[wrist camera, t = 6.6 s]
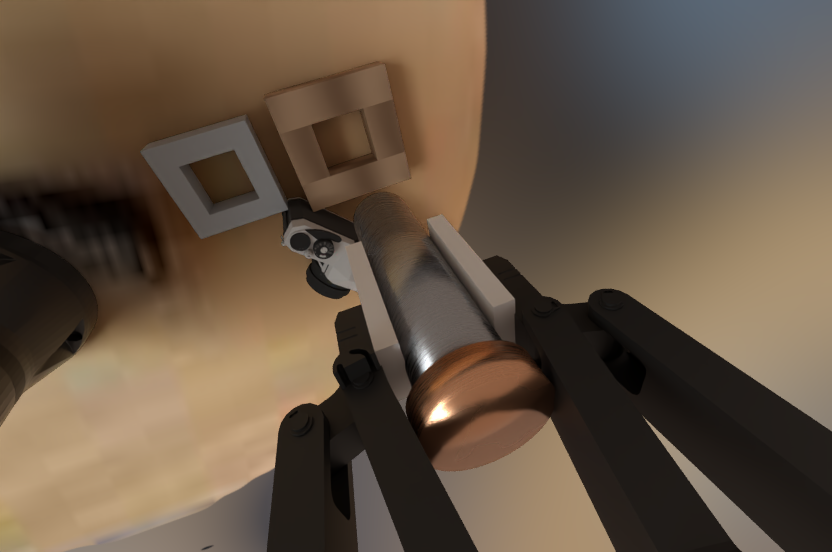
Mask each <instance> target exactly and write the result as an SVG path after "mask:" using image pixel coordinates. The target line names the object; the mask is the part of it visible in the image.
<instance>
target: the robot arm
mask: <svg viewBox="0 0 832 552" xmlns="http://www.w3.org/2000/svg"><path fill="white" fill-rule="evenodd" d="M427 224H428V229H429V233H430V238H431V240H432V241H433V243H434V244H435V246H436V247H437V248H438V250H439V251H440V253H441V254H442V255H443V257H444V258H445V260H446V261H447V263H448V264H449V265H450V267H451V268H452V270H453V271H454V272H455V274H456V275H457V277H458V278H459V280H460V281H461V282H462V284H463V285H464V287H465V288H466V289H467V291H468V292H469V294H470V295H471V297H472V298H473V299H474V301H475V302H476V304H477V305H478V307H479V308H480V309H481V311H482V312H483V314H484V315H485V316H486V318H487V319H488V321H489V322H490V324H491V325H492V326H493V328H494V329H495V331H496V332H497V333H498V335H499V336H500V338H501V339H502V340H503V341H509V342H513V343H516V344H518V345H520V346H522V347H523V348H524V349H525V350H526V351H527V352H528V353H529V354H530V356H531V357H532V358H533V360H534V361H535V362H536V364H537V365H538V366H539V368H540V369H541V370H542V372H543V373H544V374H545V375H546V377H547V378H548V379H549V381H550V382H551V383H552V385H553V386H554V388H555V401H554V411H553V412H552V414H551V416H550V417H551V419H552V421H553V423H554V425H555V427H556V429H557V431H558V433H559V436H560V438H561V440H562V442H563V444H564V446H565V448H566V450H567V452H568V454H569V456H570V458H571V460H572V462H573V464H574V466H575V468H576V471H577V473H578V475H579V477H580V479H581V481H582V483H583V485H584V487H585V489H586V491H587V493H588V495H589V497H590V499H591V501H592V503H593V505H594V507H595V509H596V511H597V514H598V516H599V518H600V520H601V522H602V524H603V526H604V528H605V530H606V532H607V534H608V536H609V538H610V540H611V542H612V544H613V546H614V548H615V550H616V552H742V551H740V550H739V549H738V548H737V547H736V545H735V544H734V543H733V542H732V540H731V539H730V538H729V536H728V535H727V533H726V532H725V530H724V529H723V528H722V527H721V525H720V524H719V522H718V521H717V519H716V518H715V517H714V515H713V514H712V513H711V511H710V510H709V508H708V507H707V505H706V504H705V503H704V501H703V500H702V499H701V497H700V496H699V494H698V493H697V492H696V490H695V489H694V487H693V486H692V485H691V483H690V482H689V481H688V479H687V478H686V476H685V475H684V473H683V472H682V471H681V469H680V468H679V466H678V465H677V464H676V462H675V461H674V459H673V458H672V457H671V455H670V454H669V453H668V451H667V450H666V448H665V447H664V446H663V444H662V443H661V441H660V440H659V439H658V437H657V436H656V434H655V433H654V432H653V430H652V429H651V427H650V426H649V425H648V424H647V422H646V420H645V419H647V421H649V422H650V423H651V424H652V425H653V426H654V427H655V428H656V429H657V430H658V431H659V432H660V433H661V434H662V435H663V436H664V437H665V438H666V439H668V441H670V442H671V443H672V444H673V445H674V446H675V447H676V448H677V449H678V450H679V451H680V452H681V453H682V454H683V455H684V456H685V457H686V458H687V459H688V460H689V461H691V462H692V463H693V464H694V465H695V466H696V467H697V468H698V469H699V470H700V471H701V472H702V473H703V474H704V475H705V476H706V477H707V478H708V479H709V480H711V481H712V482H713V483H714V484H715V485H716V486H717V487H718V488H719V489H720V490H721V491H722V492H723V493H724V494H725V495H726V496H727V497H728V498H729V499H730V500H731V501H733V502H734V503H735V504H736V505H737V506H738V507H739V508H740V509H741V510H742V511H743V512H744V513H745V514H746V515H747V516H748V517H749V518H750V519H751V520H753V522H755V523H756V524H757V525H758V526H759V527H760V528H761V529H762V530H763V531H764V532H765V533H766V534H767V535H768V536H769V537H770V538H771V539H772V540H773V541H775V543H777V544H778V545H779V546H780V547H781V548H782V549H783V550H784V551H785V552H832V431H830V430H829V429H827V428H826V427H824V426H823V425H821V424H820V423H818V422H817V421H815V420H814V419H812V418H811V417H810V416H808V415H807V414H805V413H803V412H802V411H801V410H799V409H798V408H796V407H795V406H793V405H791V404H790V403H789V402H787V401H785V400H784V399H783V398H781V397H779V396H778V395H776V394H775V393H774V392H772V391H771V390H769V389H768V388H766V387H765V386H763V385H762V384H760V383H759V382H757V381H756V380H754V379H753V378H751V377H750V376H748V375H747V374H745V373H744V372H742V371H741V370H739V369H738V368H736V367H735V366H733V365H732V364H730V363H729V362H727V361H726V360H724V359H723V358H722V357H720V356H718V355H717V354H716V353H714V352H712V351H711V350H710V349H708V348H707V347H705V346H703V345H702V344H701V343H699V342H698V341H696V340H695V339H693V338H692V337H690V336H689V335H687V334H686V333H684V332H683V331H681V330H680V329H678V328H676V327H675V326H674V325H672V324H671V323H669V322H668V321H666V320H665V319H663V318H662V317H660V316H659V315H657V314H656V313H654V312H653V311H651V310H650V309H649V308H647V307H646V306H644V305H643V304H641V303H639V302H638V301H637V300H635V299H633V298H632V297H631V296H629V295H628V294H625V293H623V292H621V291H619V290H614V289H600V290H597V291H595V292H593V293H592V294H591V295H590V297H589V299H588V302H586V303H576V304H561V303H560V302H559V301H558V300H556V299H553V298H551V297H545V296H542V295H541V294H540V293H539V292H538V291H537V290H536V289H535V288H534V287H533V286H532V285H531V284H530V283H529V282H528V281H527V280H526V279H525V278H524V277H523V275H521V274H520V272H519V271H518V270H517V269H515V267H514V266H513V265H512V264H511V263H510V262H509V261H508V260H506V259H504V258H502V257H499V256H494V257H491V258H488V259H485V260H481V259H480V258H479V257H478V255H477V254H476V253H475V252H474V251H473V250H472V248H471V247H470V246H469V245H468V244H467V243H466V241H465V240H464V239H463V238H462V237H461V236H460V235H459V233H458V232H457V231H456V230H455V229H454V228H453V226H452V225H451V224H450V223H449V222H448V221H447V219H446V218H445V217H444V216H443V215H442V214H441V215H438V216H435V217H432V218H429V219H427ZM345 249H346V252H347V256H348V259H349V263H350V266H351V270H352V273H353V277H354V281H355V284H356V288H357V291H358V295H359V298H360V302H361V305H358V306H356V307H353V308H350V309H347V310H344V311H342V312H339V313H338V315H337V317H336V320H335V329H336V334H337V341H338V346H339V352H340V354H339V356H338V357H337V358H336V359H335V361H334V364H333V374H334V376H335V378H336V379H337V381H338V383H339V385H340V386H339V388H338V389H337V390H336V392H335V393H334V394H333V395H332V396H330V397H329V398H328V399H327V400H325V401H324V402H322V403H321V404H320V405H318V406H317V405H315V404H311V403H308V404H302V405H300V406H297V407H295V408H294V409H292V410H291V411H290V412H289V413H288V414H287V415H286V416H285V418H284V419H283V421H282V422H281V425H280V428H279V433H278V443H277V453H276V463H275V473H274V485H273V493H272V503H271V514H270V524H269V533H268V543H267V552H358V543H357V529H356V516H355V502H354V488H353V474H352V461H351V460H352V459H354V458H355V457H356V456H357V455H359V454H360V453H361V452H362V451H363V450H366V453H367V455H368V458H369V460H370V463H371V466H372V468H373V471H374V474H375V476H376V479H377V481H378V484H379V487H380V489H381V492H382V494H383V497H384V500H385V502H386V505H387V507H388V510H389V513H390V515H391V518H392V520H393V523H394V525H395V528H396V530H397V533H398V536H399V539H400V541H401V544H402V546H403V549H404V552H478V550H477V548H476V547H475V545H474V543H473V541H472V539H471V537H470V535H469V534H468V531H467V530H466V528H465V526H464V524H463V522H462V520H461V518H460V516H459V515H458V513H457V511H456V509H455V507H454V505H453V503H452V501H451V500H450V498H449V496H448V494H447V492H446V491H445V488H444V486H443V485H442V483H441V481H440V479H439V477H438V475H437V473H436V471H435V469H434V467H433V466H432V464H431V462H430V460H429V458H428V456H427V454H426V452H425V451H424V449H423V447H422V445H421V443H420V441H419V439H418V437H417V435H416V434H415V432H414V430H413V428H412V426H411V424H410V422H409V420H408V419H407V417H406V415H405V413H404V411H403V410H402V407H401V405H400V404H399V402H398V401H400V400H403V399H405V398H407V397H408V395H409V392H410V390H411V388H412V387H411V384H410V381H409V379H408V376H407V373H406V370H405V360H404V357H403V355H402V352H401V349H400V346H399V343H398V340H397V337H396V335H395V332H394V329H393V326H392V324H391V321H390V318H389V316H388V313H387V310H386V307H385V305H384V302H383V299H382V297H381V294H380V291H379V288H378V286H377V283H376V280H375V277H374V275H373V272H372V269H371V267H370V264H369V261H368V258H367V256H366V253H365V250H364V247H363V245H362V242H361V241H360V242H357V243H354V244H351V245H348V246H345ZM97 312H98V309H97V302H96V299H95V296H94V294H93V291H92V289H91V288H90V286H89V284H88V283H87V282H86V280H85V279H84V278H83V277H82V275H81V274H80V273H79V272H78V271H77V270H76V269H74V268H73V267H72V266H71V265H70V264H69V263H67V262H66V261H65V260H63V259H62V258H61V257H59V256H58V255H56V254H54V253H53V252H51V251H49V250H48V249H46V248H44V247H42V246H40V245H38V244H36V243H34V242H31V241H29V240H27V239H24V238H22V237H19V236H16V235H13V234H11V233H7V232H4V231H1V230H0V427H1V425H2V423H3V422H4V420H5V419H6V417H7V416H8V414H9V413H10V411H11V410H12V408H13V407H14V405H15V404H16V402H17V401H18V399H19V398H20V396H21V395H22V394H23V393H24V392H25V391H26V390H28V389H29V388H30V387H32V386H33V385H35V384H36V383H37V382H39V381H40V380H41V379H43V378H44V377H46V376H47V375H48V374H50V373H51V372H52V371H54V370H55V369H56V368H58V367H59V366H61V365H62V364H63V363H65V362H66V361H67V360H69V359H70V358H71V357H72V356H74V355H75V354H76V353H77V352H78V351H79V349H80V348H81V347H82V346H83V344H84V343H85V341H86V340H87V338H88V336H89V335H90V333H91V331H92V330H93V328H94V326H95V323H96V320H97ZM643 417H644V418H645V419H644V418H643Z"/></svg>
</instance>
